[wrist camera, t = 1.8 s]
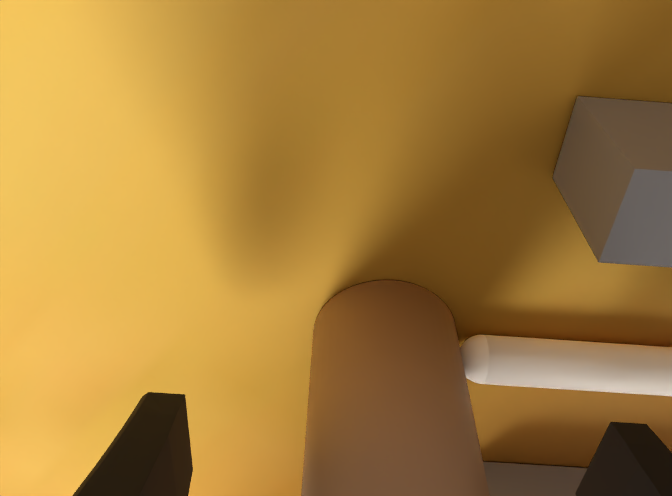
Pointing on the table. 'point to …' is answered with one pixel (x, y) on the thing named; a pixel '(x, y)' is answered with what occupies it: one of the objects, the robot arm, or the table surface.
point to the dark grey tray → (607, 223)
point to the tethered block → (431, 390)
